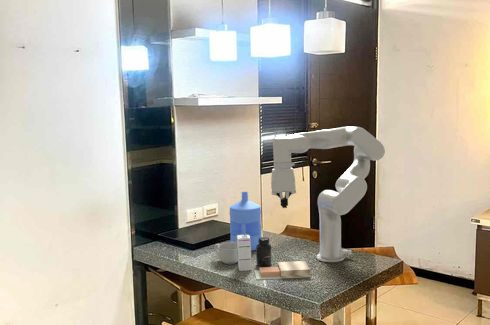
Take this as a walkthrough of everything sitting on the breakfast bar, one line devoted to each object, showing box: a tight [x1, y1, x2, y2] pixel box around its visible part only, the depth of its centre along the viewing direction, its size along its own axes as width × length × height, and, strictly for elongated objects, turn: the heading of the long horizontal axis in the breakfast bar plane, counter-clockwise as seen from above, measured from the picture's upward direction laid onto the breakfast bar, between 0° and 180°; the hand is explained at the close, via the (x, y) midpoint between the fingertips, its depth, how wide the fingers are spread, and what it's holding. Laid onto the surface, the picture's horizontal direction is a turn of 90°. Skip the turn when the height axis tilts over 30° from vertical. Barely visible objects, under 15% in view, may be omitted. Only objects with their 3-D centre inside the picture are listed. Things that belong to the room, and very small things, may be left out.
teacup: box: [213, 241, 238, 265], centre depth 226 cm, size 14×11×8 cm
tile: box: [259, 266, 280, 277], centre depth 207 cm, size 8×6×2 cm
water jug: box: [229, 191, 262, 252], centre depth 246 cm, size 16×16×28 cm
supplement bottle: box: [255, 236, 273, 268], centre depth 220 cm, size 7×7×12 cm
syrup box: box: [237, 235, 253, 272], centre depth 215 cm, size 6×6×14 cm
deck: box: [277, 260, 311, 279], centre depth 208 cm, size 12×11×3 cm
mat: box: [253, 269, 311, 281], centre depth 208 cm, size 22×11×1 cm, turn 94°
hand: (284, 207), depth 215 cm, fingers closed
